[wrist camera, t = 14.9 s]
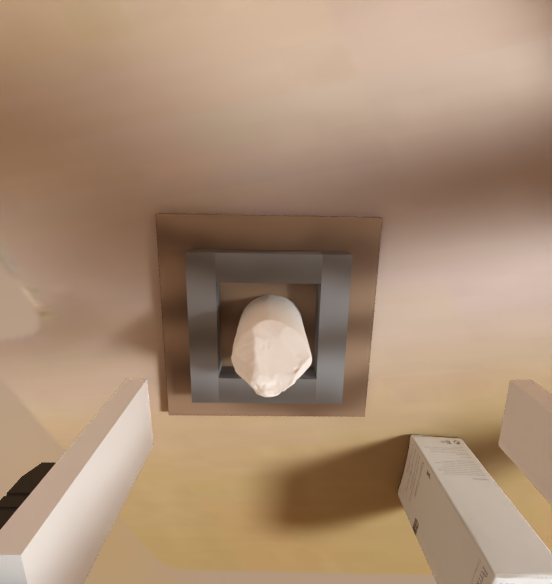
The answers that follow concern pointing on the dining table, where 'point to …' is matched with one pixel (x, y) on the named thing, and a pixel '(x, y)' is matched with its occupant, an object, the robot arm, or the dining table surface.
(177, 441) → the dining table surface
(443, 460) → the skincare box
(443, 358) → the dining table surface
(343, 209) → the dining table surface
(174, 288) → the socket
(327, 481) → the dining table surface
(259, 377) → the white bottle-shaped piece
